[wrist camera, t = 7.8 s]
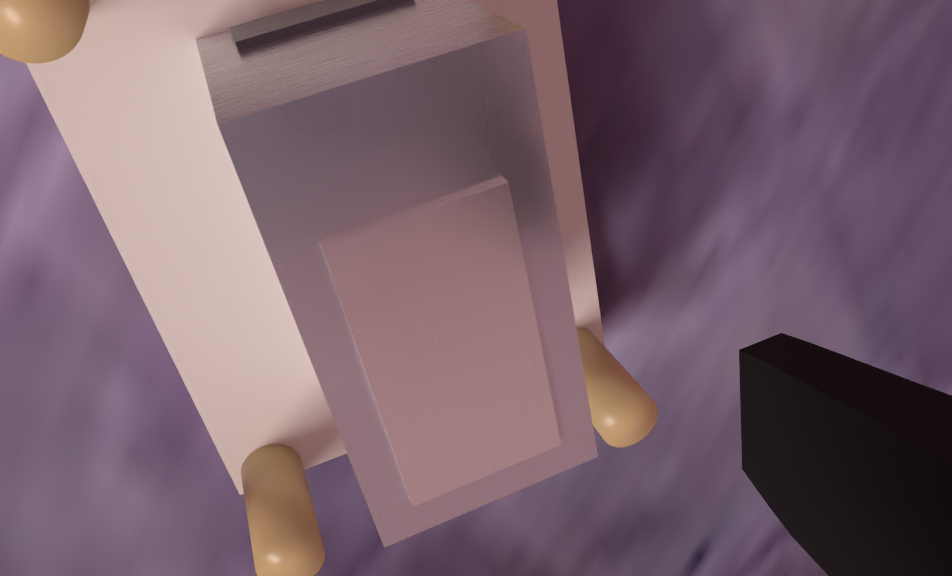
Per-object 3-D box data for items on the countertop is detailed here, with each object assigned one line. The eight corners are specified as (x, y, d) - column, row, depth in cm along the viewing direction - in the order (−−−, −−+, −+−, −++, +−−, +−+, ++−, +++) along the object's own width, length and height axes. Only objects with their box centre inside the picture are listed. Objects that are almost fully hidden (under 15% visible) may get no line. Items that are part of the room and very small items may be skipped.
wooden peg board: (589, 341, 22) (667, 429, 19) (240, 476, 20) (258, 601, 17) (509, -191, 15) (609, -198, 12) (-21, -60, 14) (-74, -27, 10)
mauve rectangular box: (497, 320, 20) (601, 461, 15) (329, 385, 19) (386, 554, 14) (416, -35, 15) (527, 19, 11) (192, 30, 14) (214, 116, 10)
